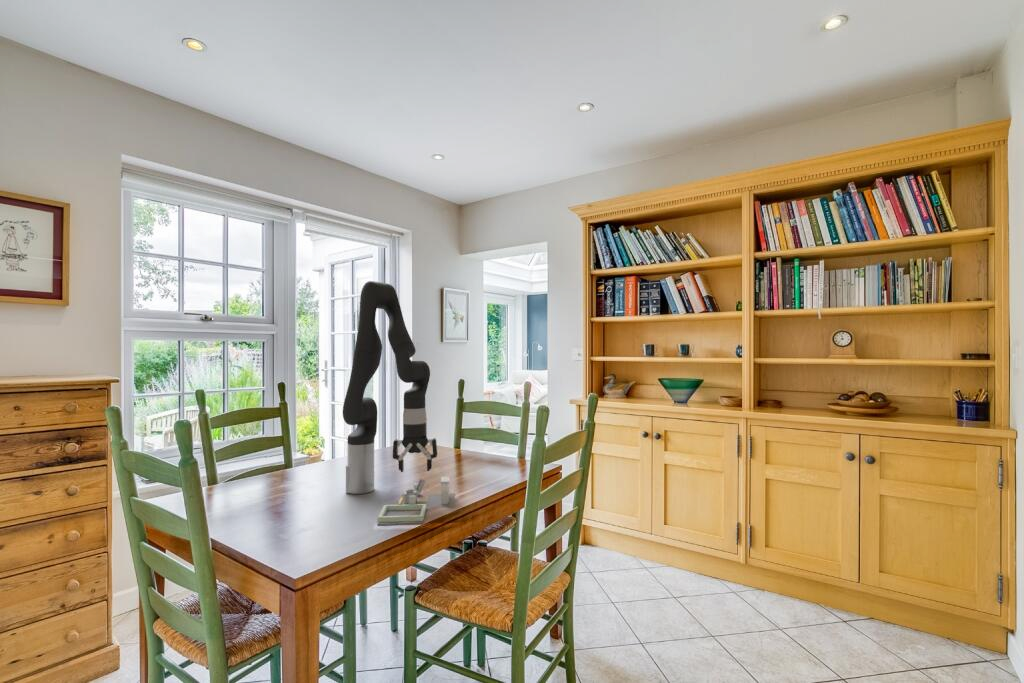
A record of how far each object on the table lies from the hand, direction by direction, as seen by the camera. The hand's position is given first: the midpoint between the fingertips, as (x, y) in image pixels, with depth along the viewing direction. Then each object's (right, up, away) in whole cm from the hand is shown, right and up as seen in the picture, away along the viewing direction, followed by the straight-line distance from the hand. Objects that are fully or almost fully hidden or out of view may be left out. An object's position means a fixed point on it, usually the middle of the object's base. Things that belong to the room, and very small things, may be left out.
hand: (415, 471), depth 160 cm
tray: (-1, -11, -13) cm, 17 cm away
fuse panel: (+4, -11, 0) cm, 12 cm away
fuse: (+10, -10, +1) cm, 14 cm away
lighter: (0, -11, 0) cm, 11 cm away
